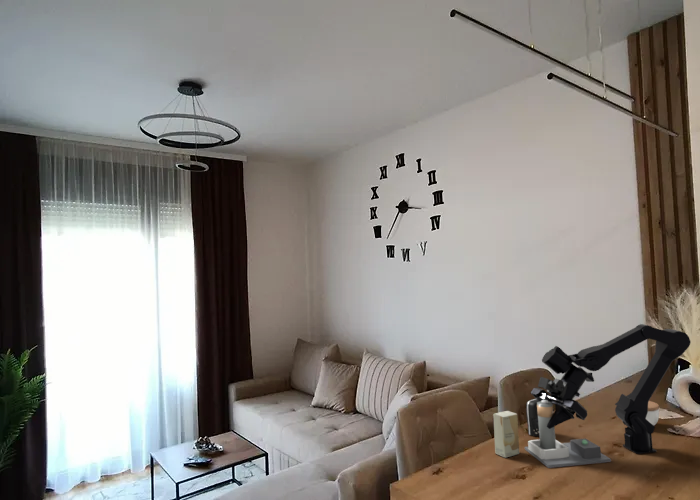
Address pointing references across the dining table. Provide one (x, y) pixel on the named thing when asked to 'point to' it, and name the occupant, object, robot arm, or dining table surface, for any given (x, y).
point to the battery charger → (532, 417)
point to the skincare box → (506, 434)
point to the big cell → (543, 418)
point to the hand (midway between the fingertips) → (542, 425)
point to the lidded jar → (652, 412)
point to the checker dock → (567, 453)
